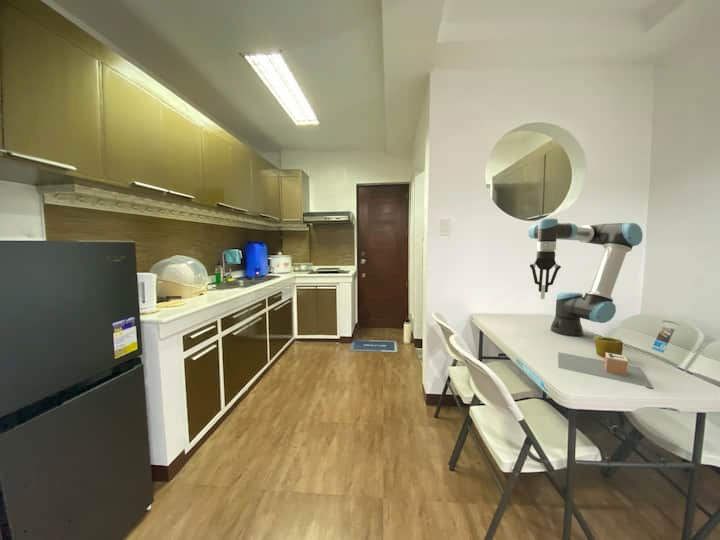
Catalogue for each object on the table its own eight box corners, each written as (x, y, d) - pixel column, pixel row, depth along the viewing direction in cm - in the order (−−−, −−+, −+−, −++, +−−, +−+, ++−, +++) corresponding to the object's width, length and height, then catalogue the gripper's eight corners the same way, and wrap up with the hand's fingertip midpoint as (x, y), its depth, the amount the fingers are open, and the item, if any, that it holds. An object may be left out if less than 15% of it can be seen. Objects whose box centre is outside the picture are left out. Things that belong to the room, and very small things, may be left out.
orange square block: (625, 355, 114) (623, 370, 115) (605, 352, 118) (604, 366, 118) (627, 361, 109) (626, 375, 110) (607, 357, 113) (606, 371, 113)
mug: (633, 358, 122) (624, 336, 124) (607, 363, 125) (598, 341, 126) (616, 353, 134) (608, 332, 136) (592, 357, 136) (584, 337, 138)
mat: (558, 352, 133) (558, 352, 133) (640, 368, 117) (640, 367, 117) (558, 368, 117) (558, 367, 117) (653, 389, 101) (653, 388, 101)
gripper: (529, 250, 137) (526, 298, 140) (562, 251, 130) (558, 301, 132) (530, 250, 143) (527, 295, 146) (562, 250, 136) (558, 298, 138)
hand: (542, 298), depth 139 cm, fingers closed
